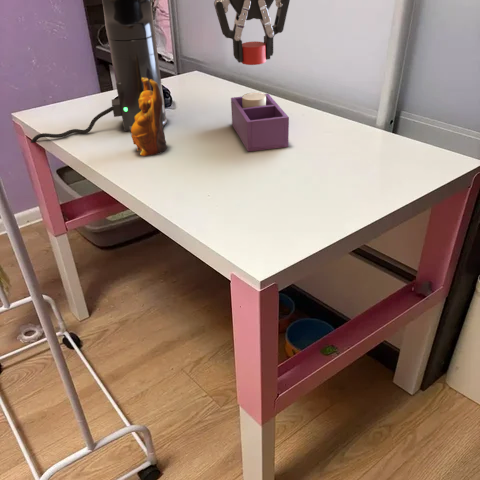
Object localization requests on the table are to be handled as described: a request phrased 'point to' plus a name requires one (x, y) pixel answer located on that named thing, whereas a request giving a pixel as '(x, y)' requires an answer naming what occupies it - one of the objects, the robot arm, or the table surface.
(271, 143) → the purple divided box
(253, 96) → the cream token high
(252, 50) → the cylinder
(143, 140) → the figurine
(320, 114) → the table surface
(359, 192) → the table surface
